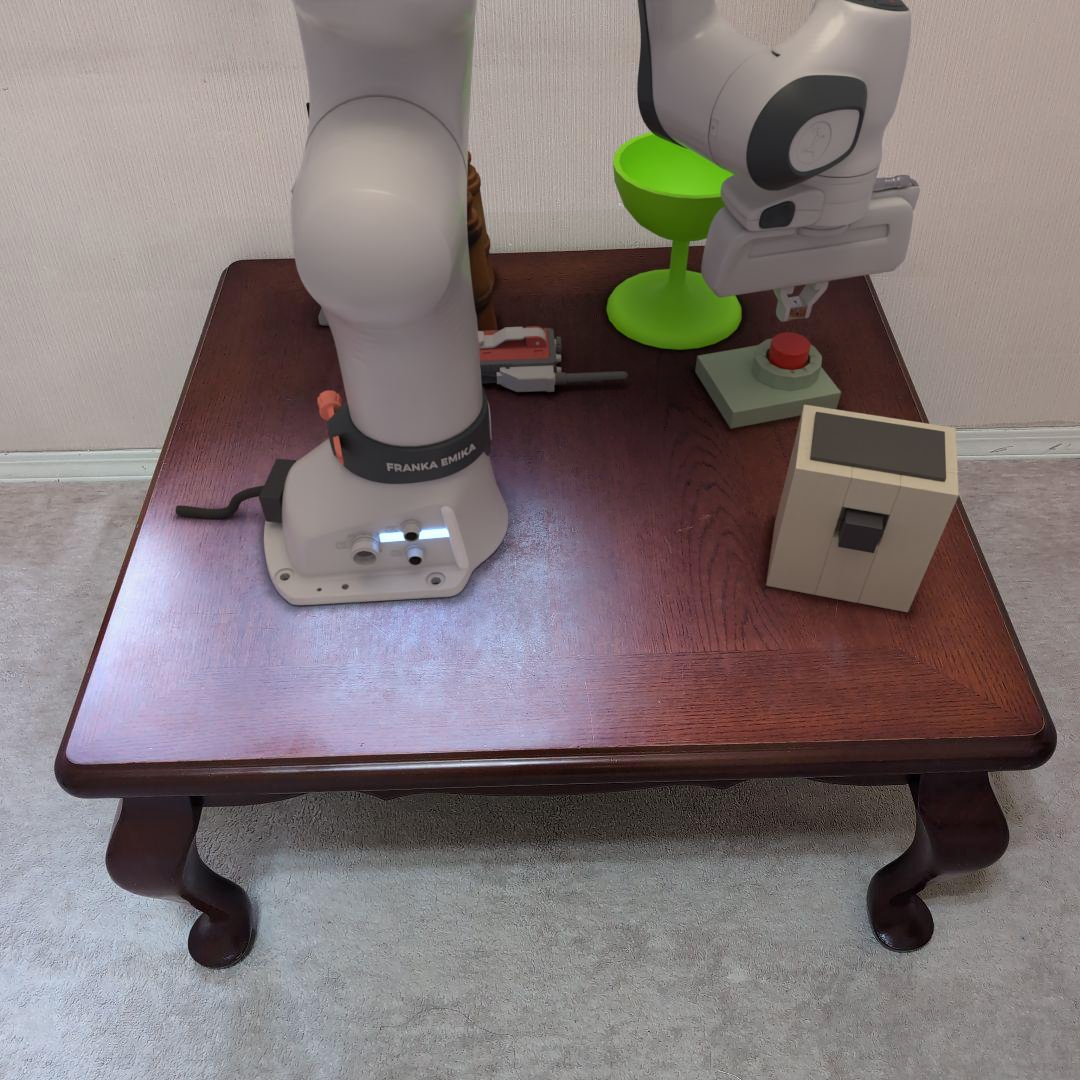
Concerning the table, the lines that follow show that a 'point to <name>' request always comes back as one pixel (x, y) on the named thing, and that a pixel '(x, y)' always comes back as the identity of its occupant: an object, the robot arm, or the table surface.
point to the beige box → (863, 505)
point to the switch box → (763, 385)
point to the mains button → (789, 351)
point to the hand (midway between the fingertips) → (791, 316)
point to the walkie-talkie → (528, 360)
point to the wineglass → (682, 216)
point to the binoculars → (479, 253)
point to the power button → (860, 530)
